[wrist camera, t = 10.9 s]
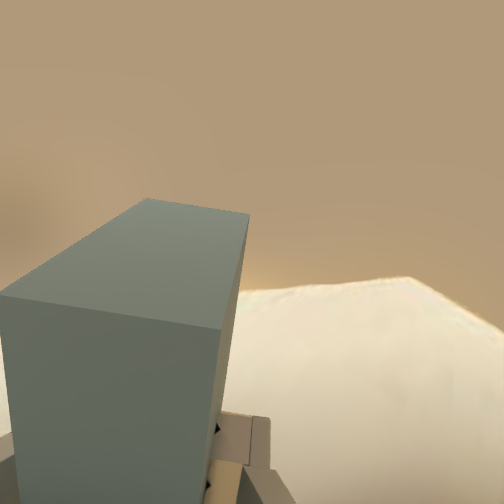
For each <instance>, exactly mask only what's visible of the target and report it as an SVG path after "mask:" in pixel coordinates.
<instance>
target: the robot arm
mask: <svg viewBox="0 0 504 504" xmlns="http://www.w3.org/2000/svg"><path fill="white" fill-rule="evenodd" d="M270 428H271V421H270V418H266V417H259V416H252V415H245V414H238V413H231V412H225V411H219V412H218V417H217V423H216V430H215V435H214V438H213V444H212V449H211V454H210V460H209V467H208V474H207V483H206V489H205V495H204V502H203V504H296V502H295V501H294V499H293V497H292V496H291V494H290V493H289V491H288V489H287V488H286V486H285V485H284V483H283V481H282V480H281V478H280V477H279V475H278V473H277V472H276V470H272V469H270ZM0 504H20V496H19V488H18V479H17V471H16V463H15V454H14V446H13V437H12V432H10V433H8V434H6V435H4V436H3V437H1V438H0Z"/></svg>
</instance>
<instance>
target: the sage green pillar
mask: <svg viewBox="0 0 504 504" xmlns="http://www.w3.org/2000/svg"><path fill="white" fill-rule="evenodd" d="M249 217H250V215H249V214H244V213H238V212H231V211H225V210H219V209H212V208H205V207H199V206H193V205H186V204H180V203H174V202H167V201H161V200H154V199H148V198H146V199H144V200H142V201H141V202H139V203H138V204H136V205H135V206H133V207H131V208H130V209H128V210H127V211H125V212H124V213H122V214H120V215H119V216H117V217H116V218H114V219H113V220H111V221H110V222H108V223H106V224H105V225H103V226H102V227H100V228H99V229H97V230H96V231H94V232H92V233H91V234H89V235H88V236H86V237H84V238H83V239H81V240H80V241H78V242H77V243H75V244H74V245H72V246H70V247H69V248H67V249H66V250H64V251H62V252H61V253H59V254H58V255H56V256H55V257H53V258H52V259H50V260H48V261H47V262H46V263H44V264H42V265H41V266H39V267H38V268H36V269H34V270H33V271H31V272H30V273H28V274H26V275H25V276H23V277H22V278H20V279H19V280H17V281H15V282H14V283H13V284H11V285H9V286H8V287H6V288H5V289H3V290H1V291H0V336H1V345H2V353H3V361H4V370H5V378H6V387H7V395H8V404H9V412H10V420H11V429H12V437H13V446H14V454H15V463H16V471H17V479H18V488H19V496H20V504H203V502H204V495H205V489H206V483H207V474H208V467H209V460H210V454H211V449H212V444H213V438H214V435H215V430H216V423H217V417H218V412H219V411H221V407H222V401H223V394H224V387H225V380H226V374H227V367H228V360H229V353H230V346H231V340H232V333H233V326H234V319H235V312H236V306H237V299H238V292H239V285H240V278H241V272H242V265H243V257H244V251H245V244H246V238H247V230H248V224H249Z"/></svg>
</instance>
